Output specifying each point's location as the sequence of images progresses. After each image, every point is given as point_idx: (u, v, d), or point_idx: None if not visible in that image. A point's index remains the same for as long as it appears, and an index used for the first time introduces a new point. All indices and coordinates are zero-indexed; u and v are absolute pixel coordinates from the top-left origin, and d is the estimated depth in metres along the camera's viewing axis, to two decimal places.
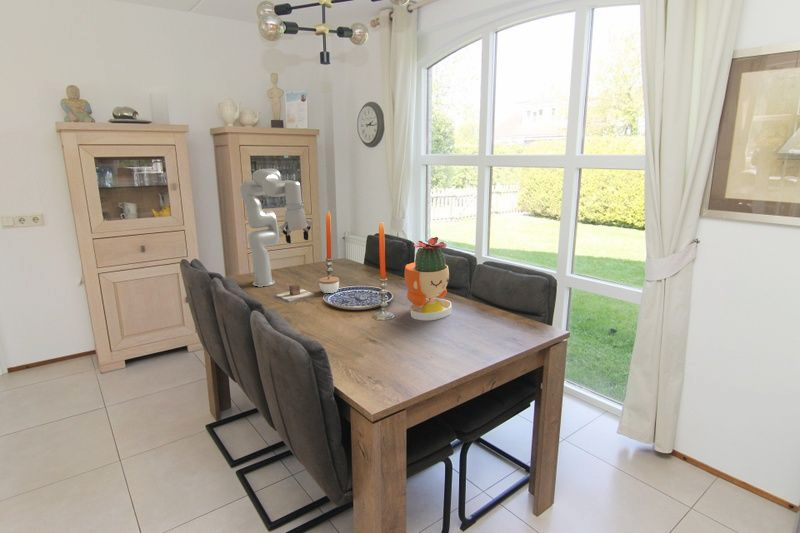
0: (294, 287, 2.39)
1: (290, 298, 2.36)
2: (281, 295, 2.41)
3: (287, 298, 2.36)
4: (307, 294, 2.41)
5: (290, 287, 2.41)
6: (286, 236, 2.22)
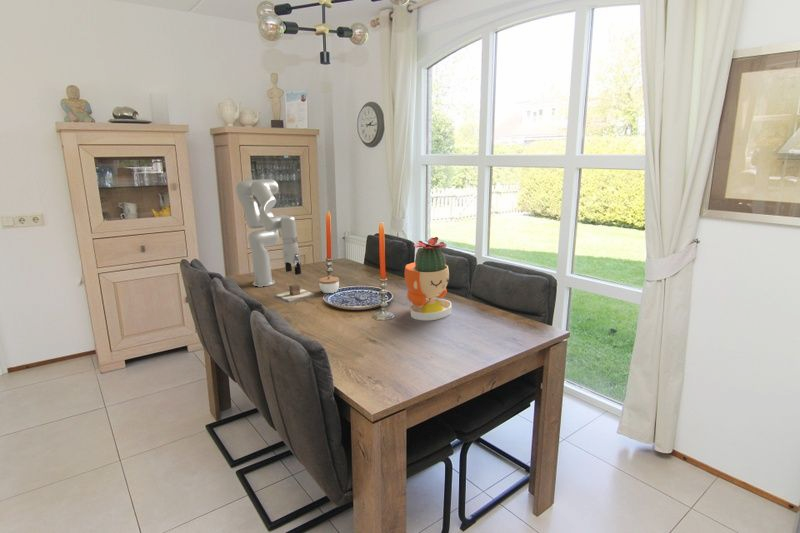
0: (294, 287, 2.39)
1: (290, 298, 2.36)
2: (281, 295, 2.41)
3: (287, 298, 2.36)
4: (307, 294, 2.41)
5: (290, 287, 2.41)
6: (298, 267, 2.34)
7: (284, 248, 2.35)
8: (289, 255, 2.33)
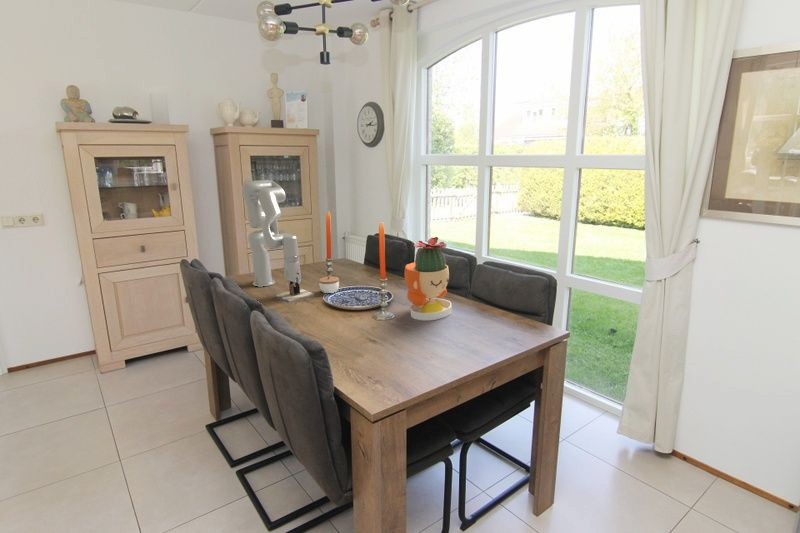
0: None
1: (290, 298, 2.36)
2: (281, 295, 2.41)
3: (287, 298, 2.36)
4: (307, 294, 2.41)
5: (290, 287, 2.41)
6: (297, 287, 2.39)
7: (286, 266, 2.38)
8: (290, 274, 2.36)
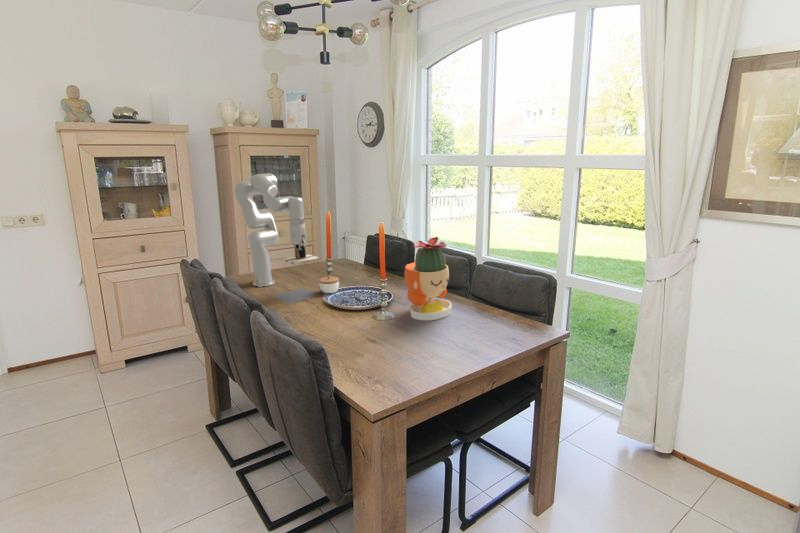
0: None
1: (295, 261, 2.32)
2: (287, 259, 2.37)
3: (292, 261, 2.32)
4: (313, 258, 2.37)
5: (296, 251, 2.37)
6: (303, 251, 2.35)
7: (291, 229, 2.34)
8: (296, 236, 2.32)
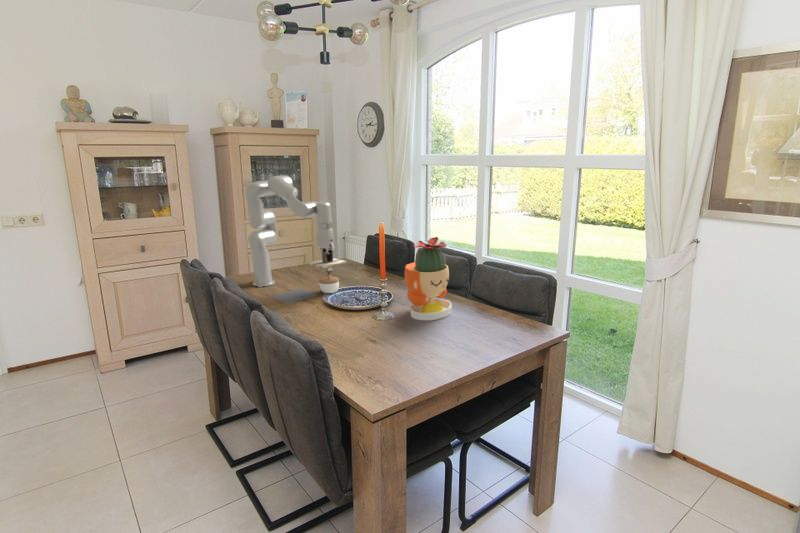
0: None
1: (324, 265, 2.35)
2: (314, 263, 2.41)
3: (321, 265, 2.35)
4: (340, 262, 2.41)
5: (323, 255, 2.40)
6: (330, 254, 2.39)
7: (319, 234, 2.38)
8: (324, 240, 2.35)
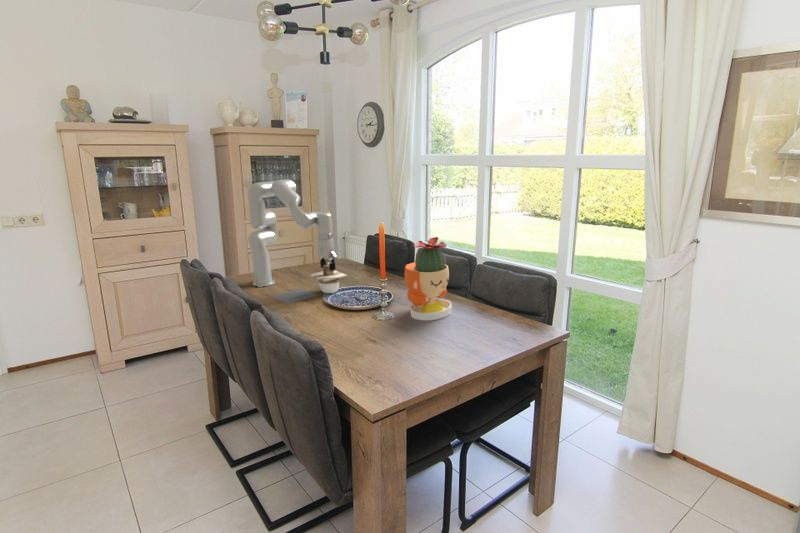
0: (328, 267, 2.41)
1: (325, 278, 2.37)
2: (315, 275, 2.42)
3: (321, 278, 2.37)
4: (341, 275, 2.43)
5: (324, 267, 2.42)
6: (333, 264, 2.38)
7: (320, 244, 2.39)
8: (325, 251, 2.37)
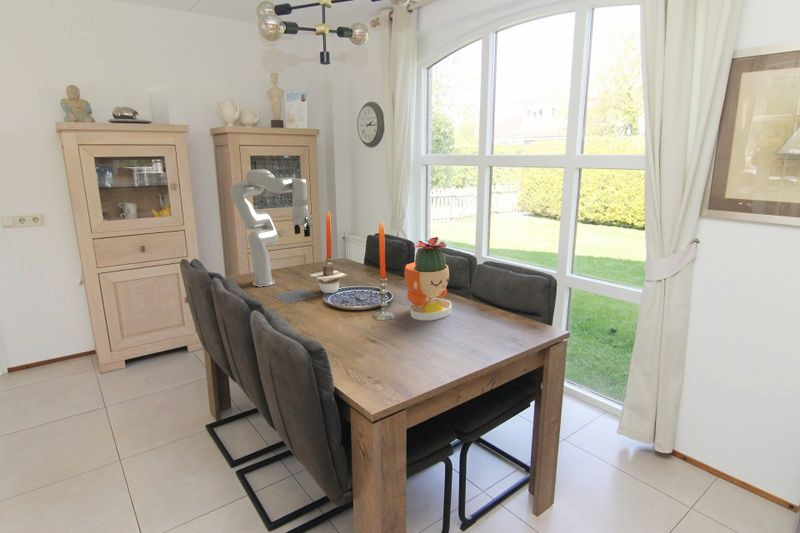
0: (328, 267, 2.41)
1: (324, 278, 2.37)
2: (315, 275, 2.42)
3: (321, 278, 2.37)
4: (341, 275, 2.43)
5: (324, 267, 2.42)
6: (308, 230, 2.37)
7: (294, 210, 2.38)
8: (299, 217, 2.35)
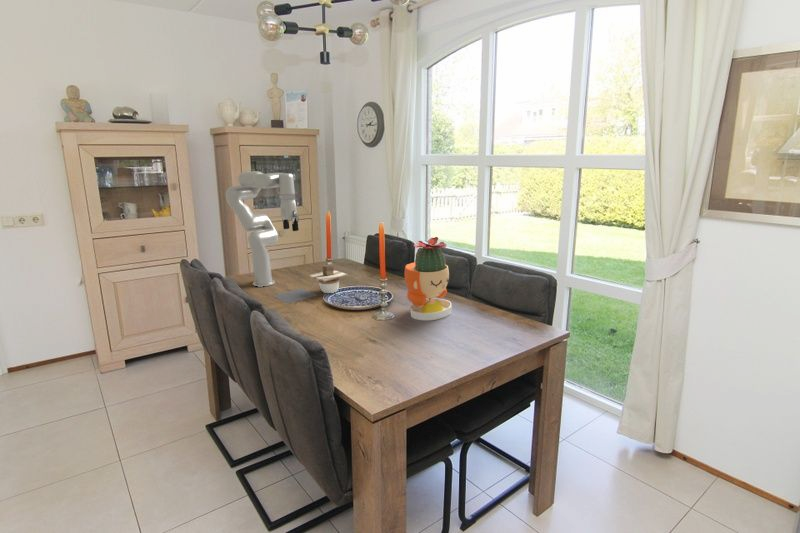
0: (328, 267, 2.41)
1: (324, 278, 2.37)
2: (315, 276, 2.42)
3: (321, 278, 2.37)
4: (340, 274, 2.43)
5: (324, 267, 2.42)
6: (296, 224, 2.38)
7: (282, 205, 2.39)
8: (287, 211, 2.36)
